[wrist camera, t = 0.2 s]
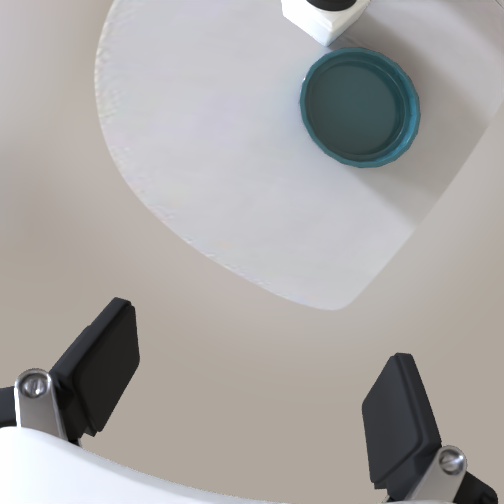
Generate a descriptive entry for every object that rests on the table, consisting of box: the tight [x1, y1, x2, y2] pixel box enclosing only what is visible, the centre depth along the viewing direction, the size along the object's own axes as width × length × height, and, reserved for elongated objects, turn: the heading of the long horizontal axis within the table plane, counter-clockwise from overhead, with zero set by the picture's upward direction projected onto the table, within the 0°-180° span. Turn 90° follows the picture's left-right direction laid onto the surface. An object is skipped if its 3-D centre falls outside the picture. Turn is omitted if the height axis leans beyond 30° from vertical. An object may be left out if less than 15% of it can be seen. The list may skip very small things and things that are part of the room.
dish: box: [298, 48, 421, 168], centre depth 31 cm, size 14×14×4 cm
